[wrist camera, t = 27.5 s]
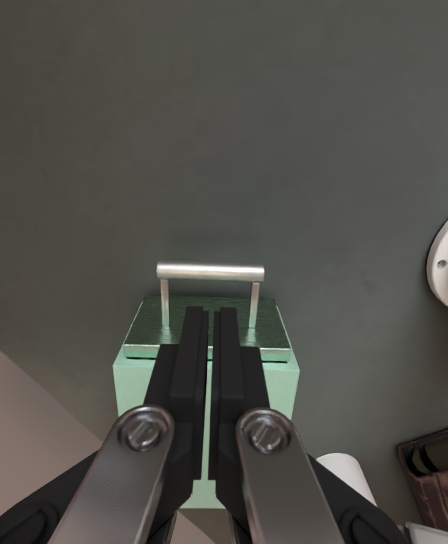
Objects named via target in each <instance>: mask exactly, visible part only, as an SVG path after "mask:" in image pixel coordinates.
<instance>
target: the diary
mask: <svg viewBox="0 0 448 544" xmlns="http://www.w3.org/2000/svg"><path fill="white" fill-rule="evenodd" d="M398 453H399V460H400V463H401V465H402V467H403V470H404V472H405V474H406V477H407V479H408V481H409V483H410V486H411V488H412V490H413V493H414V496H415V499H416V501H417V504H418V507H419V510H420V512H421V515H422V517H423V520H424V522H425V524H426V526H427V527H430V528H434V529H438V530H441V531H445V532H448V430H445V431H442V432H439V433H436V434H433V435H430V436H427V437H424V438H420V439H417V440H416V441H415V442H414V441H411V442H408V443H405V444H402V445H399V447H398Z"/></svg>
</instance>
